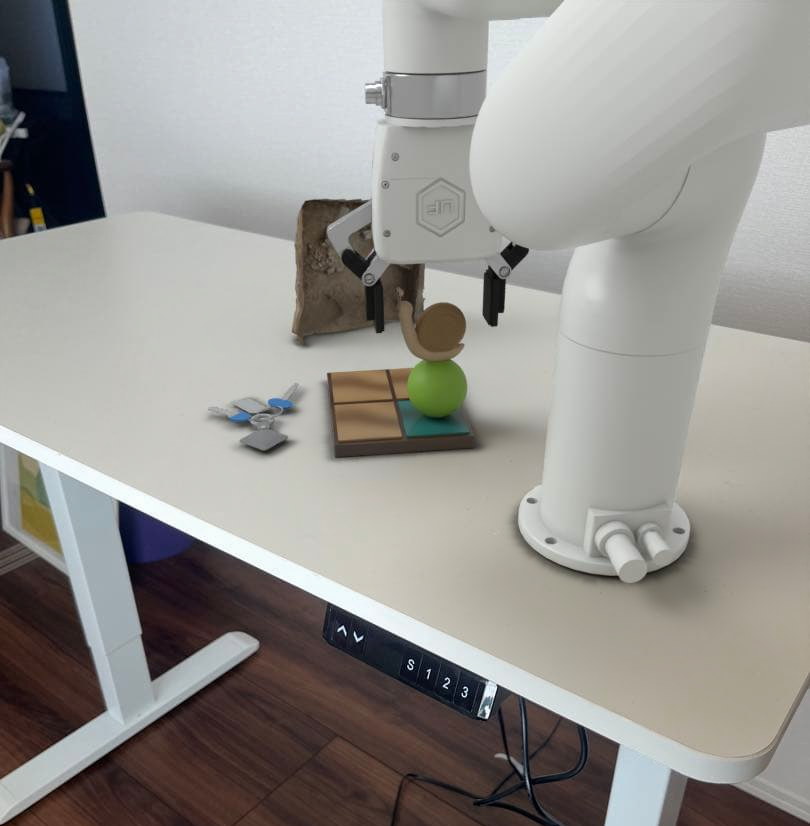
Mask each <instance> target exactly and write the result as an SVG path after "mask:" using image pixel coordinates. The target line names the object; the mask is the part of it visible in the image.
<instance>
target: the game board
mask: <svg viewBox="0 0 810 826" xmlns="http://www.w3.org/2000/svg"><path fill="white" fill-rule="evenodd" d="M413 368H414V367H404V368H403V367H402V368H386V369H385V368H383V369H369V370H368V369H367V370H353V371H352V370H350V371H349V370H348V371H334V372H333V371H332V372H326V379H327V380H326V381H327V391H328V401H329V410H330V419H331V420H330V421H331V430H332V431H331V432H332V439H333V449H334V457H335V458H342V457H343V458H344V457H357V456H359V457H360V456H373V455H374V456H375V455H388V454H389V455H391V454H402V453H418V452H419V453H420V452H430V451H431V452H435V451H446V450H448V451H449V450H463V449H474V448H475V441H476V439H475V438H476V437H475V436H476V435H475V433H474V431H473V429H472V426H471V424H470V422H469V419H468V416H467V415H466V414H467V413H466V412H465V409H464V407H463V404H462V405H461V406H460V407H459V408H458V409H457V410H456V411H455V412H454V413H452V414H450V415H448V416H445V417H439V418H435V417H429V416H426V415H424V414H422V413H420V412H419V411H418V410H417V409H416V408H415V407H414V406H413V405H412V403H411V401H410V399H409V396H408V392H407V382H408V378H409V375H410V373H411V371H412V370H413Z"/></svg>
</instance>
